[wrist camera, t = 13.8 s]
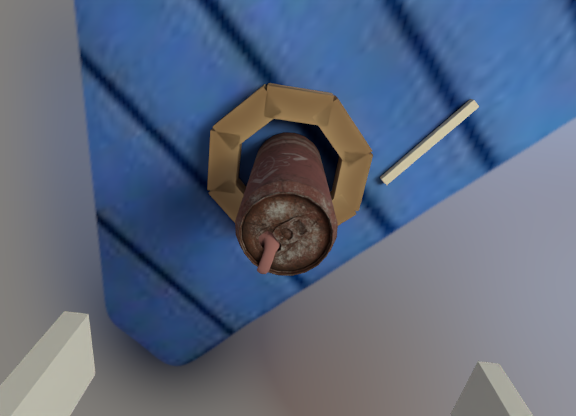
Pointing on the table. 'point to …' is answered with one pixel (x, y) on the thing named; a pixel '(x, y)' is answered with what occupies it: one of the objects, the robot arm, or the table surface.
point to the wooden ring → (297, 109)
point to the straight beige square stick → (430, 141)
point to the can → (286, 208)
